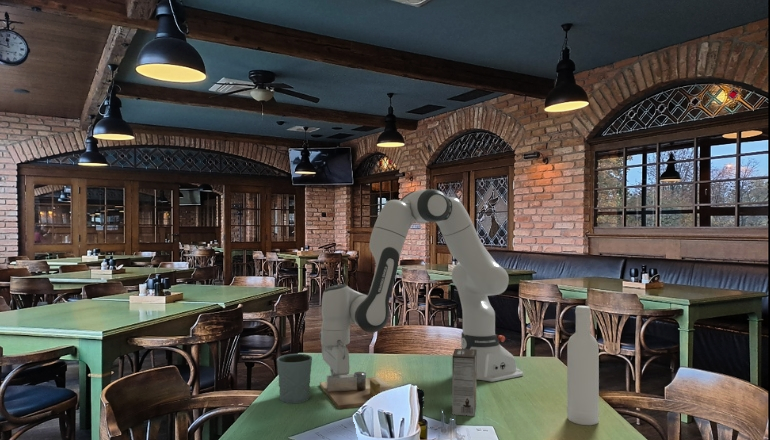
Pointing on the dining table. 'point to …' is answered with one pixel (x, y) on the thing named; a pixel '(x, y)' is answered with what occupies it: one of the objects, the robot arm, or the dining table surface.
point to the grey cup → (294, 377)
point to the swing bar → (346, 382)
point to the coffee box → (464, 382)
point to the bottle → (583, 372)
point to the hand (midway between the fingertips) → (335, 382)
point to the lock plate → (356, 393)
